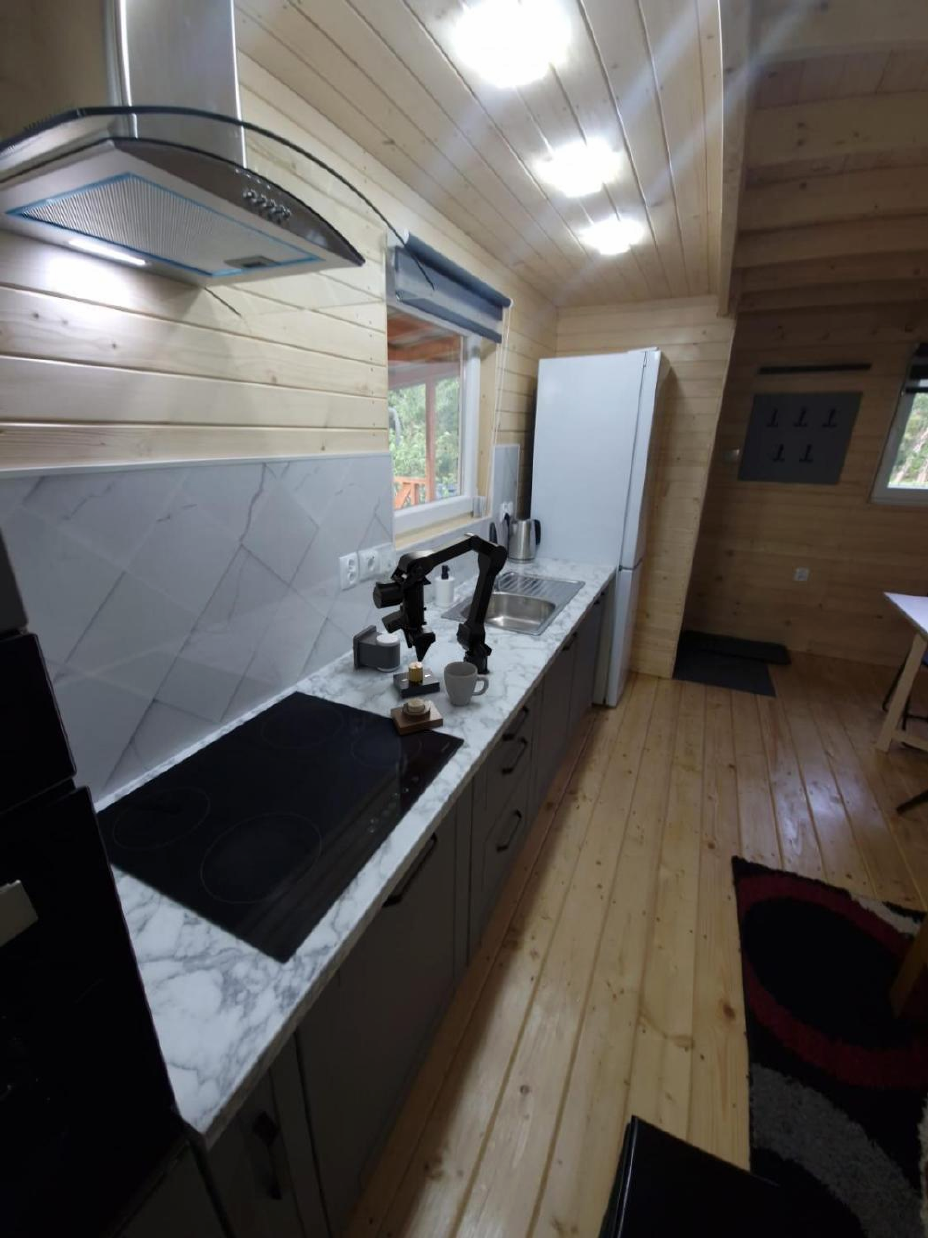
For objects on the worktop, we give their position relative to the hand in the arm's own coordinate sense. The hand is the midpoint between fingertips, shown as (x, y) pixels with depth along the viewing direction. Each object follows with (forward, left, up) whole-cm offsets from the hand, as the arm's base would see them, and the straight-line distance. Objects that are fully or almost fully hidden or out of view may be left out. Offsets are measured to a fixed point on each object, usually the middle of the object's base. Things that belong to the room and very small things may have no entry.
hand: (414, 654), depth 137 cm
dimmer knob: (0, 0, -7) cm, 7 cm away
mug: (-11, +12, -11) cm, 19 cm away
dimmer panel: (0, 0, -10) cm, 10 cm away
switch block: (+5, +16, -10) cm, 20 cm away
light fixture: (+6, -17, -11) cm, 21 cm away
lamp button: (+5, +16, -7) cm, 18 cm away
